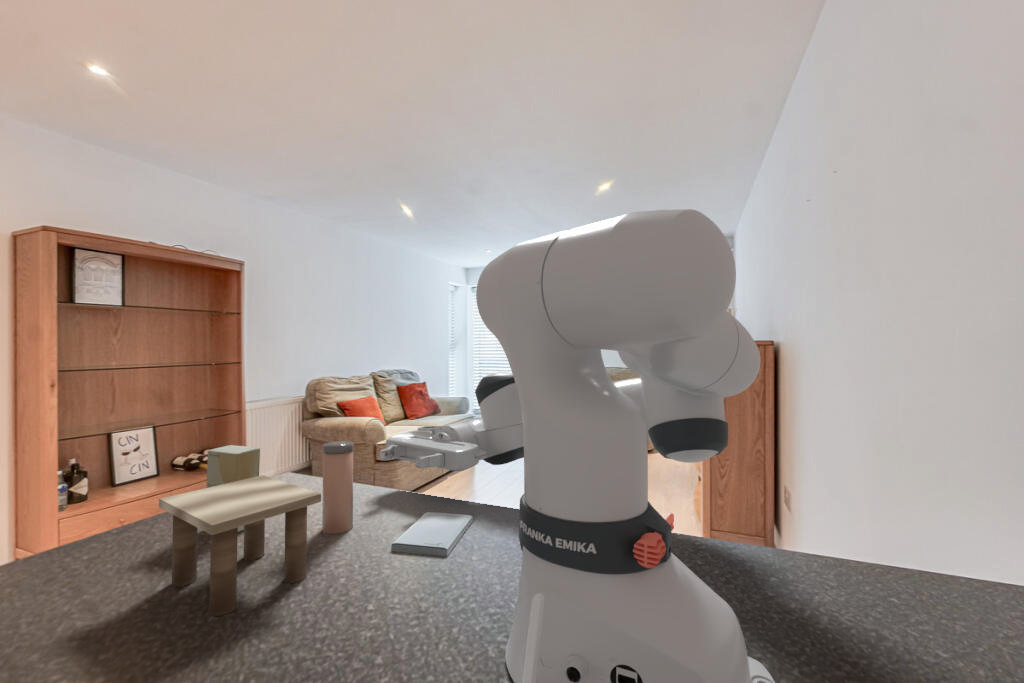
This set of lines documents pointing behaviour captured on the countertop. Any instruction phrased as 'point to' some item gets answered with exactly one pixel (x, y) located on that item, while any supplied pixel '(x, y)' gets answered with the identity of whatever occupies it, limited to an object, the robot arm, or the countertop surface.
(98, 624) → the countertop surface
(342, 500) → the spice jar
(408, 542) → the hard drive
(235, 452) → the skincare box
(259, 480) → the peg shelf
